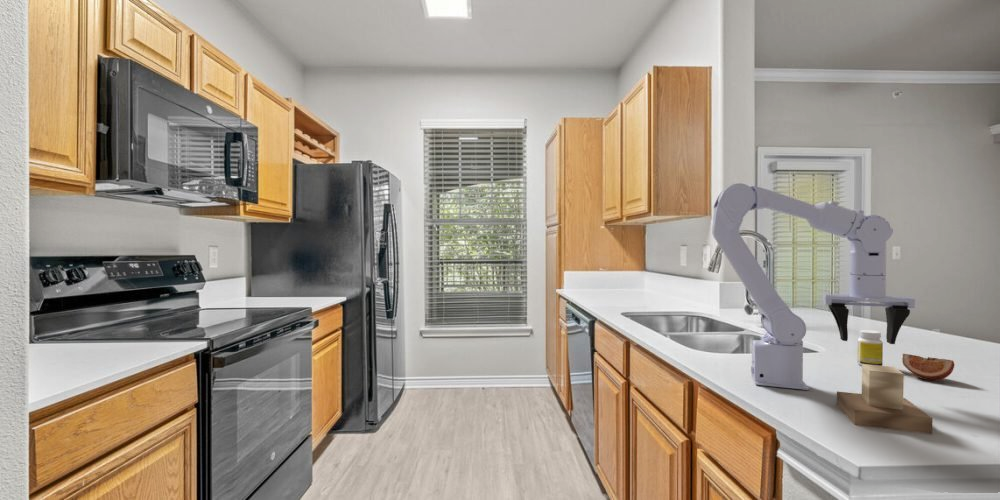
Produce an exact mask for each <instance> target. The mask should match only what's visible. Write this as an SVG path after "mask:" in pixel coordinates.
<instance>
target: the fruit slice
mask: <svg viewBox="0 0 1000 500" xmlns="http://www.w3.org/2000/svg"><path fill="white" fill-rule="evenodd" d="M901 359H902V360H901V362H902V364H903V367H905V368H906V369H907V370H908V372H909V371H910V373H912V374H913V375H914V376H917V377H919V378H921V379H924V380H927V381H941V380H944V379H946V378H948V377H949V376H950V375H951V374H952V373H953V371H954V369H955V362H954V360H951V359H946V358H938V357H930V356H928V357H923V356H921V355H915V354H909V353H908V354H907V353H902V358H901Z"/></svg>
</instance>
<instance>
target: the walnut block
mask: <svg viewBox="0 0 1000 500" xmlns="http://www.w3.org/2000/svg"><path fill="white" fill-rule="evenodd" d="M837 405H838V406H839V407H838V406H837ZM836 406H837V407H838V408H839V409H840V410H841V412H843V414H844V415H845V414H846V415H847V416H848V417H847V416H846V417H847V418H848V420H849V421H851V422H852V423H853V424H854V426H862V427H863V426H864V427H871V428H880V429H889V430H893V431H896V430H897V431H903V432H910V433H911V432H912V433H920V434H921V433H922V434H928V435H933V417H931V416H930V415H929V414H927V413H926V412H925V411H923V410H922V409H920V408H919V407H918V406H917V405H915V404H914V403H912V402H911V401H910V400H908V399H907V398H905V397H903V410H900V409H892V408H883V407H875V406H869V405H868V404H867V403H866V402H865V401H864V400H863V398H862V393H858V392H857V393H855V392H849V391H848V392H847V391H839V390H837V391H836Z"/></svg>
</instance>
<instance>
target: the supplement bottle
mask: <svg viewBox="0 0 1000 500" xmlns="http://www.w3.org/2000/svg"><path fill="white" fill-rule="evenodd" d="M881 334H882V333H881V332H880V331H878V330H869V329H864V330H863V329H862V330H859V338H858V339H857V365H859V366H860V367H862V364H868V365H879V366H883V353H884V352H883V349H884V348H883V344H884V343H883V341H882V340H881V337H882V335H881Z"/></svg>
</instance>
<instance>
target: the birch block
mask: <svg viewBox="0 0 1000 500" xmlns="http://www.w3.org/2000/svg"><path fill="white" fill-rule="evenodd" d="M904 376H905V374H904V373H903V372H902V371H901V370H899V369H898V368H897V367H895V366H891V365H890V366H887V365H882V366H879V365H868V364H862V366H861V394H862V398H863V400H864V401H865V402H866V403H867V404H868V405H869V406H875V407H883V408H892V409H900V410H903V398H904V385H905V383H904V380H905V379H904V378H905V377H904Z"/></svg>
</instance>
